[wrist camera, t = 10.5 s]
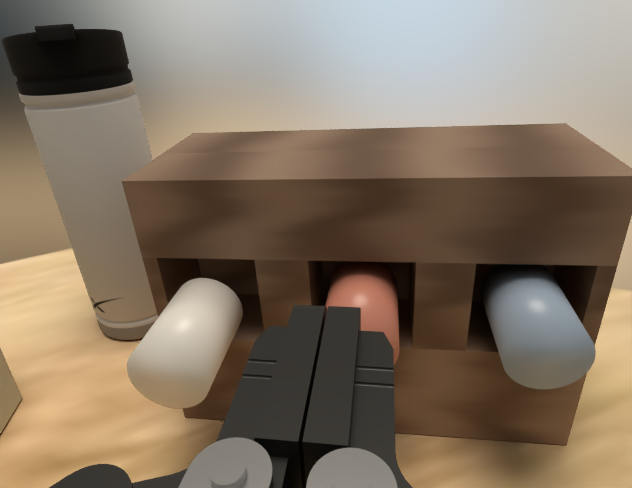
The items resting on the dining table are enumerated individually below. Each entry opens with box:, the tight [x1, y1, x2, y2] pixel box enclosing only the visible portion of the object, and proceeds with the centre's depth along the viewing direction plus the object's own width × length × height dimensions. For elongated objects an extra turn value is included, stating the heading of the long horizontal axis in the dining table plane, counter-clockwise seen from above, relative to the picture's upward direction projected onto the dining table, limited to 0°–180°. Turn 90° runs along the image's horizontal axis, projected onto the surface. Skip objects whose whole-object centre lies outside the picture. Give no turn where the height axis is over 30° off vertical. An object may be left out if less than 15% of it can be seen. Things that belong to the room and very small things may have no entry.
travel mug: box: [2, 24, 158, 340], centre depth 30 cm, size 6×7×20 cm
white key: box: [127, 278, 243, 408], centre depth 19 cm, size 3×4×3 cm
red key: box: [325, 261, 399, 364], centre depth 20 cm, size 3×4×3 cm
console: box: [122, 124, 632, 445], centre depth 24 cm, size 20×8×14 cm, turn 82°
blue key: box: [481, 264, 595, 389], centre depth 19 cm, size 3×4×3 cm
